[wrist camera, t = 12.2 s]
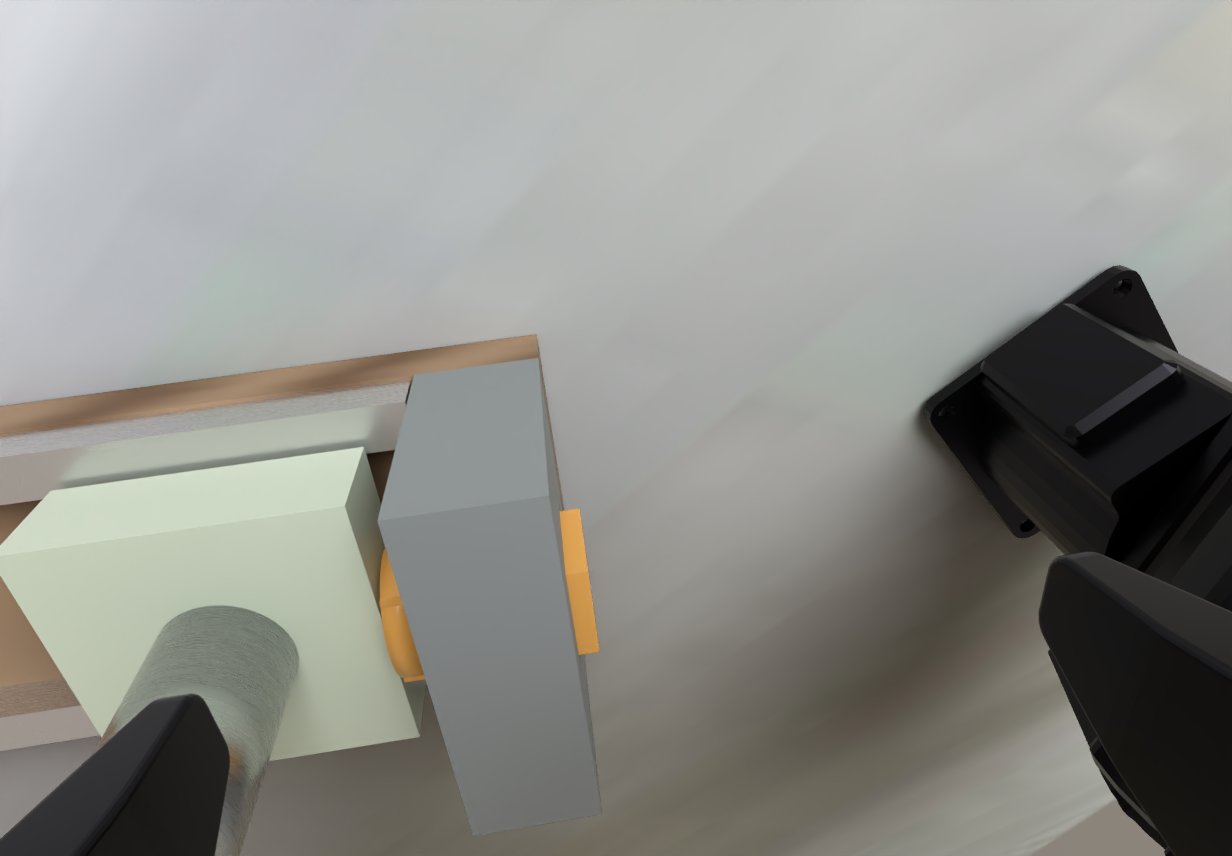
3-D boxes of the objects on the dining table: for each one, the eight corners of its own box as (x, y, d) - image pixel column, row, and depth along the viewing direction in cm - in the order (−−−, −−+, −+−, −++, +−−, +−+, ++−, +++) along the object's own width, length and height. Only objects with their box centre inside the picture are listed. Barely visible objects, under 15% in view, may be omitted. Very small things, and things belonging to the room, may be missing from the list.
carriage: (363, 446, 18) (217, 903, 9) (428, 664, 21) (368, 1152, 12) (50, 490, 18) (-433, 1014, 9) (168, 705, 21) (-89, 1239, 12)
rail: (536, 334, 20) (548, 495, 14) (577, 597, 25) (602, 814, 18) (-407, 461, 19) (-886, 704, 12) (-185, 715, 23) (-452, 992, 17)
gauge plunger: (576, 485, 19) (587, 569, 16) (590, 585, 21) (602, 676, 18) (391, 512, 19) (371, 601, 16) (420, 611, 21) (406, 708, 18)
